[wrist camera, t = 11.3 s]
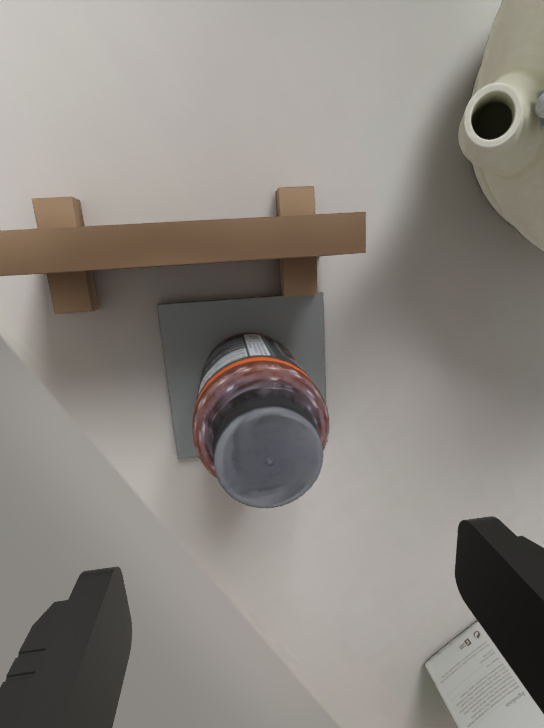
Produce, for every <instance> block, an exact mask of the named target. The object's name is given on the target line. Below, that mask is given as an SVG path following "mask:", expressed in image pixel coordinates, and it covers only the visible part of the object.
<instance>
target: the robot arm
mask: <svg viewBox="0 0 544 728" xmlns="http://www.w3.org/2000/svg"><path fill="white" fill-rule="evenodd" d="M455 578H456V583H457V586H458V589H459V592H460V594H461V597H462V598H463V600H464V602H465V603H466V605H467V606H468V608H469V609H470V610H471V612H472V613H473V615H474V616H475V617H476V619H477V620H478V622H479V623H480V625H481V626H482V627H483V629H484V630H485V632H486V633H487V635H488V636H489V637H490V639H491V640H492V642H493V643H494V644H495V646H496V647H497V649H498V650H499V652H500V653H501V654H502V656H503V657H504V659H505V660H506V662H507V663H508V664H509V666H510V667H511V669H512V670H513V671H514V673H515V674H516V676H517V677H518V679H519V680H520V681H521V683H522V684H523V686H524V687H525V688H526V690H527V691H528V693H529V694H530V696H531V697H532V698H533V700H534V701H535V703H536V704H537V706H538V707H539V708H540V710H541V711H542V713H543V714H544V548H543V547H541V546H539V545H537V544H536V543H534V542H532V541H530V540H529V539H527V538H525V537H523V536H519V537H517V536H516V535H515V534H514V533H513V532H512V531H511V530H510V529H509V528H507V527H506V526H505V525H504V524H503V523H502V522H501V521H500V520H499V519H497V518H496V517H483V518H476V519H469V520H463V521H461V522H460V524H459V526H458V537H457V551H456V564H455ZM131 641H132V622H131V616H130V611H129V606H128V601H127V596H126V591H125V586H124V580H123V575H122V572H121V569H120V568H119V567H112V568H105V569H97V570H90V571H84V572H83V573H81V574H80V576H79V578H78V580H77V582H76V584H75V586H74V589H73V591H72V593H71V595H70V598H69V600H65V601H59V602H54V603H53V604H52V605H51V606H50V608H49V609H48V610H47V611H46V612H45V613H44V614H43V615H42V616H41V617H40V618H39V620H38V621H37V622H36V623H35V624H34V625H33V626H32V628H31V630H30V632H29V634H28V636H27V637H26V639H25V641H24V643H23V645H22V647H21V649H20V651H19V656H18V658H16V659H15V660H14V662H13V664H12V666H11V668H10V670H9V672H8V674H7V678H6V681H5V682H3V684H2V685H1V687H0V728H112V726H113V722H114V717H115V714H116V709H117V705H118V701H119V697H120V693H121V688H122V684H123V680H124V676H125V672H126V667H127V663H128V659H129V655H130V649H131Z"/></svg>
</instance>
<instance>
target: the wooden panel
mask: <svg viewBox="0 0 544 728" xmlns="http://www.w3.org/2000/svg"><path fill="white" fill-rule="evenodd" d="M32 203H33V208H34V213H35V218H36V223H37V228H38V229H27V230H8V231H0V276H10V275H29V274H47V277H48V282H49V287H50V292H51V297H52V302H53V307H54V312H55V314H58V313H72V312H85V311H94V310H96V309H98V303H97V297H96V291H95V286H94V280H93V274H92V271H95V270H111V269H126V268H142V267H158V266H174V265H190V264H206V263H221V262H237V261H253V260H269V259H280V276H281V294H282V296H284V297H289V296H303V295H317V263H316V256H329V255H342V254H354V253H366V212H355V213H335V214H316V215H315V200H314V186H306V187H284V188H278V189H277V191H276V203H277V217H258V218H239V219H220V220H201V221H181V222H162V223H143V224H124V225H104V226H85V227H84V222H83V216H82V211H81V205H80V200H78V199H75V198H73V197H58V198H35V199H32Z"/></svg>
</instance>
